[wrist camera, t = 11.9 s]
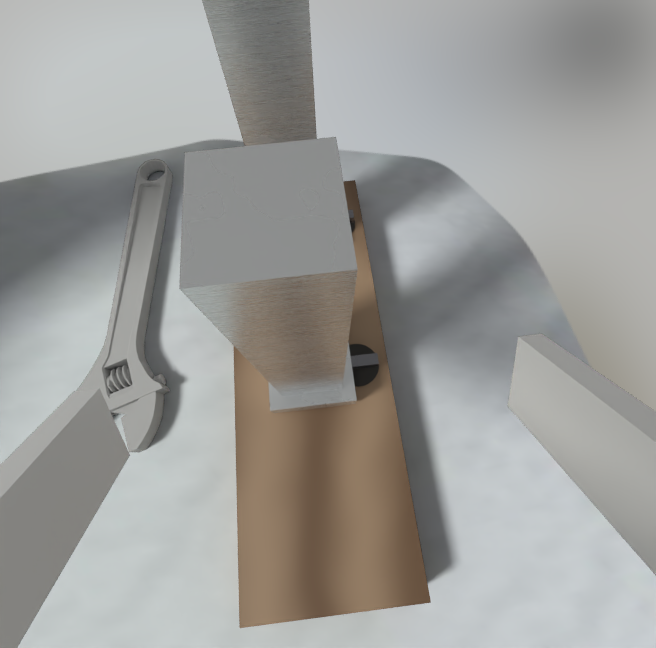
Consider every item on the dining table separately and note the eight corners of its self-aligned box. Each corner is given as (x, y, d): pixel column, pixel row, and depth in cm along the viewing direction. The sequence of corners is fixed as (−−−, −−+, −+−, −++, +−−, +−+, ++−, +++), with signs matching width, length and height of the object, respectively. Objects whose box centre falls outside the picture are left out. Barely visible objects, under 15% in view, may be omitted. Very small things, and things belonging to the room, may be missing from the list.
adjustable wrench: (148, 172, 32) (137, 156, 30) (217, 174, 31) (210, 158, 30) (61, 466, 23) (40, 467, 21) (156, 471, 23) (142, 472, 21)
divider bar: (248, 611, 20) (238, 629, 18) (237, 209, 29) (230, 192, 27) (421, 588, 20) (431, 603, 18) (353, 197, 30) (355, 179, 27)
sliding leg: (274, 413, 21) (137, 329, 6) (269, 336, 23) (154, 131, 8) (383, 400, 21) (492, 289, 7) (370, 324, 23) (434, 103, 8)
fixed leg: (266, 260, 25) (165, -18, 10) (262, 205, 27) (172, -103, 12) (357, 250, 25) (391, -38, 10) (348, 196, 27) (365, -120, 12)
